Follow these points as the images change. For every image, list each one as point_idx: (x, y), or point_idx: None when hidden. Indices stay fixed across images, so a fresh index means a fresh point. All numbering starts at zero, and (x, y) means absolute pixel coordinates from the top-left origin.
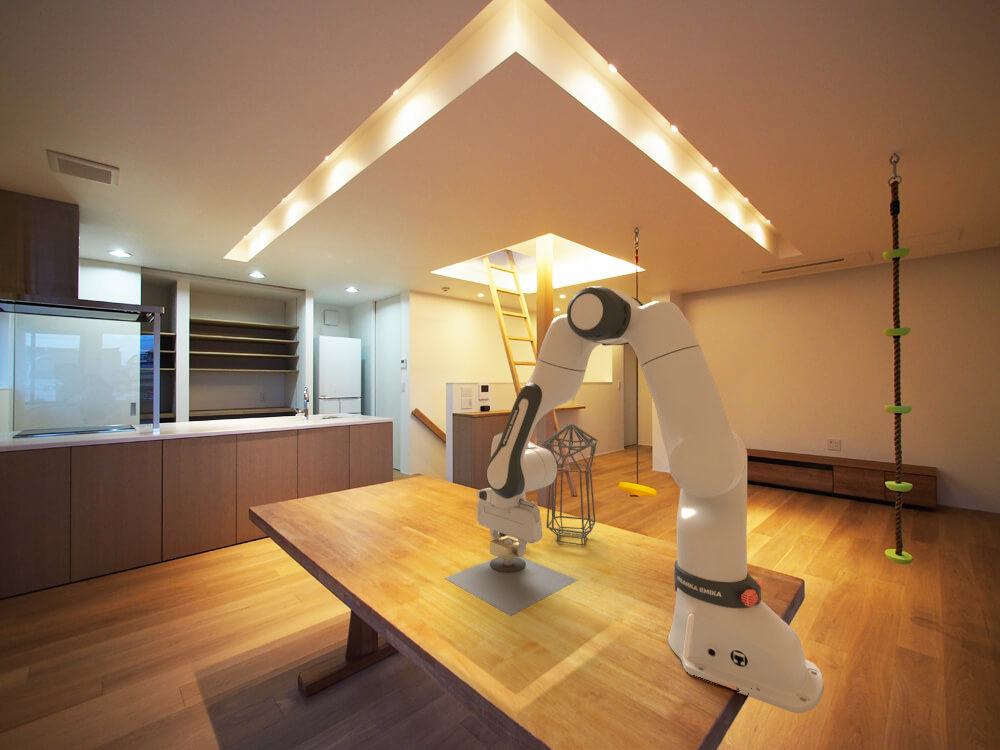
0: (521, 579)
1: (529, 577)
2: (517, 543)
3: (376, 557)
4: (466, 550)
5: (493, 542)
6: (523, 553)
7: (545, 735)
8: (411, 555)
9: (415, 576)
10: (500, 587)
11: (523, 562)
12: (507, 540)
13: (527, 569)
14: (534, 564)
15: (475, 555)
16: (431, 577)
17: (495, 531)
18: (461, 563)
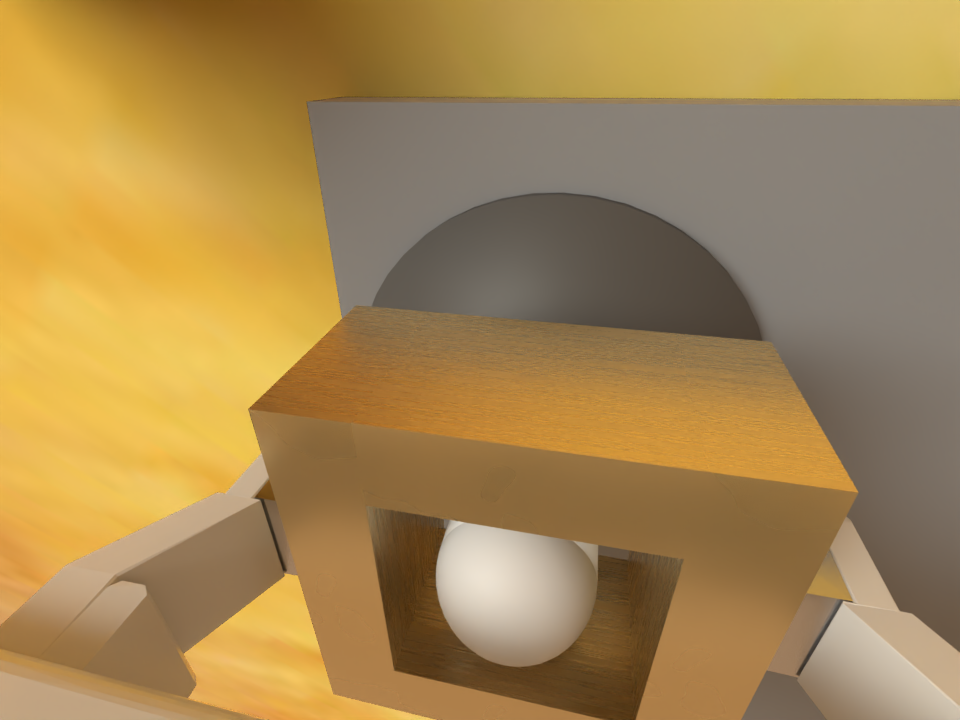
0: (871, 545)
1: (941, 485)
2: (726, 631)
3: (4, 606)
4: (10, 285)
5: (396, 708)
6: (850, 533)
7: None
8: (15, 530)
9: (261, 652)
10: (771, 680)
11: (682, 269)
12: (514, 662)
13: (819, 355)
14: (838, 173)
15: (132, 308)
16: (309, 636)
17: (166, 671)
18: (225, 463)
